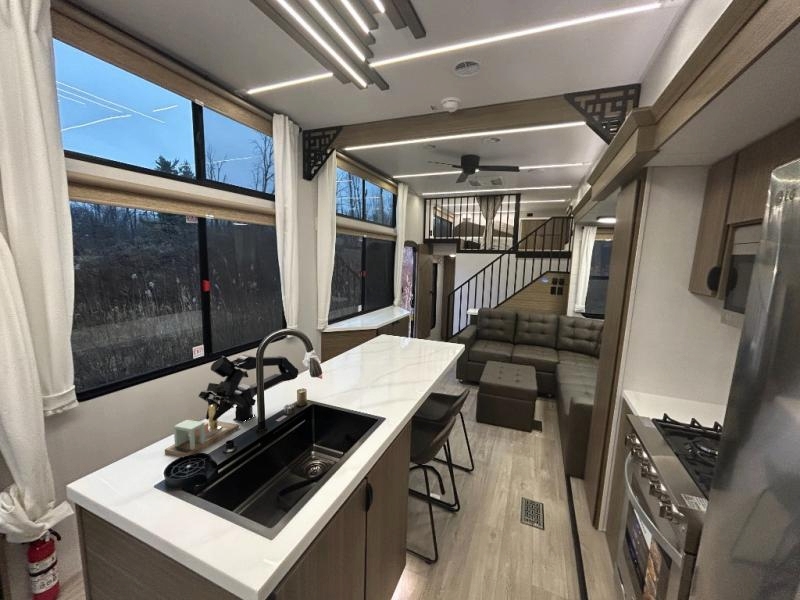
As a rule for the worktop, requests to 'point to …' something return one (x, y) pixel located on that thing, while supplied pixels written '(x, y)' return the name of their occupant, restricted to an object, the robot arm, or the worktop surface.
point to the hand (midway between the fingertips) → (210, 419)
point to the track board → (185, 447)
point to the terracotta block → (197, 431)
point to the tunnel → (188, 432)
